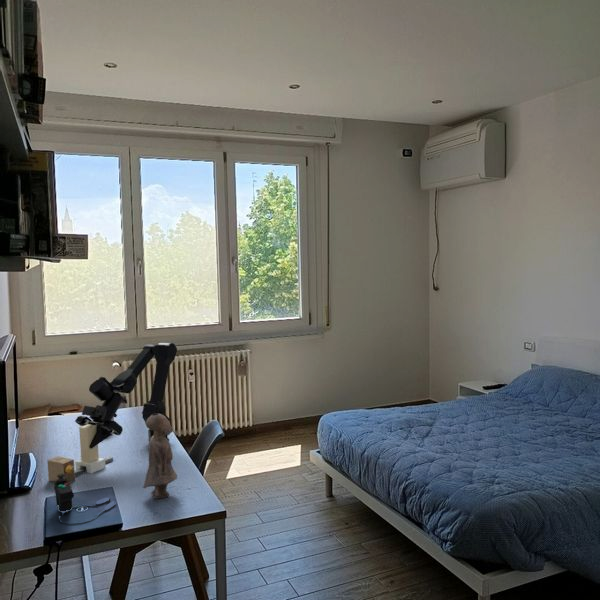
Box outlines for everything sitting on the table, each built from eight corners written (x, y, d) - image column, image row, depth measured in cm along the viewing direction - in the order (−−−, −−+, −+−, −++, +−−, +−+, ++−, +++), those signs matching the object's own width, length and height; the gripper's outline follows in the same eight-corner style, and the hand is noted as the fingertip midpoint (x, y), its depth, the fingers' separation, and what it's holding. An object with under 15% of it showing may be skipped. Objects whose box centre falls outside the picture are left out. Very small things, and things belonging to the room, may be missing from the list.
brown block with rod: (103, 458, 202) (102, 439, 202) (120, 462, 198) (118, 442, 198) (48, 480, 183) (47, 460, 182) (65, 485, 179) (64, 464, 178)
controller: (69, 502, 165) (67, 470, 164) (77, 518, 154) (74, 483, 154) (53, 506, 163) (51, 473, 162) (60, 522, 152) (57, 487, 152)
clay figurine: (182, 499, 164) (178, 416, 162) (148, 507, 160) (143, 422, 158) (172, 484, 176) (168, 407, 174) (140, 491, 171) (135, 412, 170)
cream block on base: (90, 464, 197) (87, 422, 196) (105, 467, 193) (102, 425, 192) (75, 469, 192) (72, 427, 191) (91, 473, 188) (88, 430, 187)
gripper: (77, 393, 199) (52, 432, 190) (114, 398, 190) (89, 439, 181) (97, 409, 206) (73, 447, 198) (132, 414, 197) (110, 455, 188)
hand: (85, 447), depth 191 cm, fingers closed on cream block on base, 4 cm apart
